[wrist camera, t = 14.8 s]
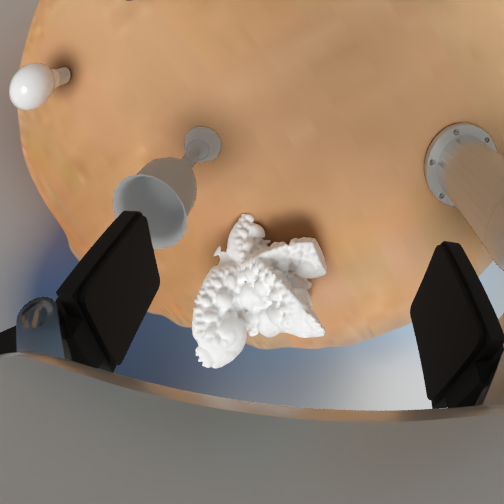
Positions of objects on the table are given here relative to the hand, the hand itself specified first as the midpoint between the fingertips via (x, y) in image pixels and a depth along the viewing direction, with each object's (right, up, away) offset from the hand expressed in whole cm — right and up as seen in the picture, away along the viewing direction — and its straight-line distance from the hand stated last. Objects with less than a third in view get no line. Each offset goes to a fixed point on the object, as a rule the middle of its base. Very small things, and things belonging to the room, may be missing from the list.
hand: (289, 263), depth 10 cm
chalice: (-8, +14, +30) cm, 34 cm away
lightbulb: (-28, +26, +24) cm, 45 cm away
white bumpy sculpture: (+2, -1, +41) cm, 41 cm away
